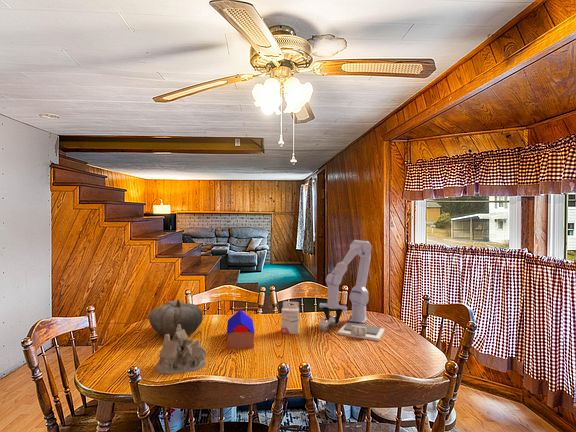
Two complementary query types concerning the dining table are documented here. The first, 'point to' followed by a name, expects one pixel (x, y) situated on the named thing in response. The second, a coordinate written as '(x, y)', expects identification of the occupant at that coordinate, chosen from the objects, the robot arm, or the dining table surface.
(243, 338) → the house
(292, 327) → the ink cartridge box
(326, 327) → the spacer
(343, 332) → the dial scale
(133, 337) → the dining table surface
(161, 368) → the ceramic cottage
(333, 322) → the spacer
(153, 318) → the gourd
